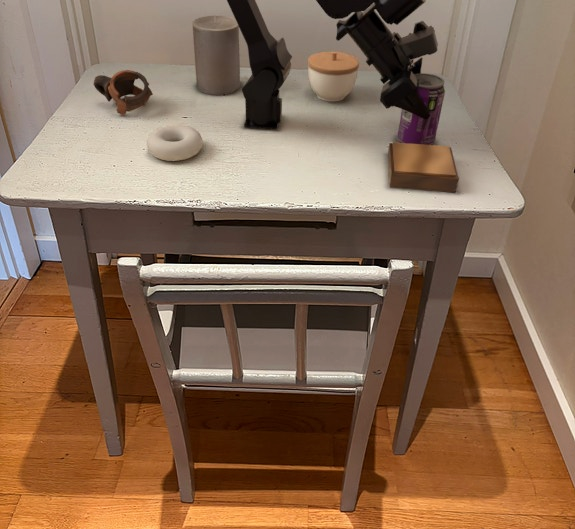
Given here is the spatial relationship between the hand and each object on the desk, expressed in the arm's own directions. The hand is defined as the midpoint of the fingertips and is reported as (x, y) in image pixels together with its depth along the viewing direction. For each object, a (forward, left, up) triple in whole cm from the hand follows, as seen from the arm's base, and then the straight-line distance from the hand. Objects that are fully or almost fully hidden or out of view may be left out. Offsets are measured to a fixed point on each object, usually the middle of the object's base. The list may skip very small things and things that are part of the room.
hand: (429, 109), depth 104 cm
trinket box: (-18, +19, -7) cm, 27 cm away
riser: (-1, -12, -7) cm, 14 cm away
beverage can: (-1, 0, -7) cm, 7 cm away
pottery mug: (-60, +7, -7) cm, 61 cm away
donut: (-45, -10, -7) cm, 47 cm away
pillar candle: (-43, +20, -7) cm, 48 cm away
